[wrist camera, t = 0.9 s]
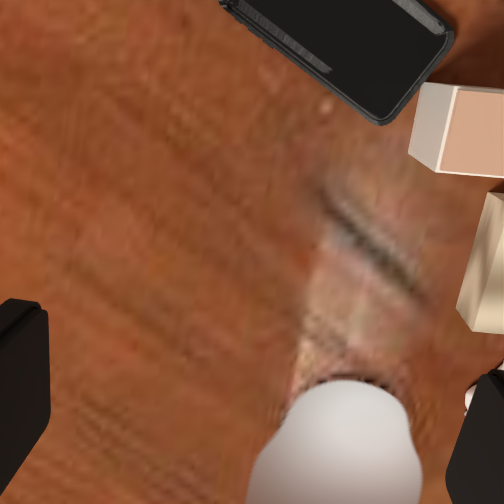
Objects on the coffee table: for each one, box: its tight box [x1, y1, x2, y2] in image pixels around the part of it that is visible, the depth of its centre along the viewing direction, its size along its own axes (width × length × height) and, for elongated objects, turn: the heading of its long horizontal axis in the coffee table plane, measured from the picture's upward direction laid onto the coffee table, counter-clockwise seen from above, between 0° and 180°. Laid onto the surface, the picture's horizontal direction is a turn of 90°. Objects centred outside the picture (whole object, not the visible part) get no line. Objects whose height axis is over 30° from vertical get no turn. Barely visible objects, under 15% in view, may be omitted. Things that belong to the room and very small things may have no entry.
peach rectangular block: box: [408, 82, 504, 178], centre depth 31 cm, size 5×5×7 cm
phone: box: [218, 0, 454, 126], centre depth 32 cm, size 8×1×15 cm
